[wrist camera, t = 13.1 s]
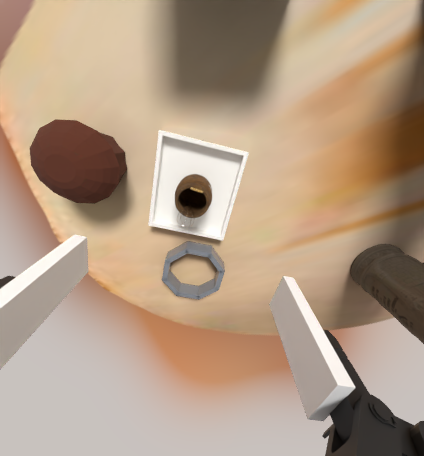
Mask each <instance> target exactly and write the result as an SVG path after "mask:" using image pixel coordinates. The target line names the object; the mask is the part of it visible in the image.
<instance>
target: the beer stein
mask: <svg viewBox="0 0 424 456" xmlns="http://www.w3.org/2000/svg"><path fill="white" fill-rule="evenodd" d="M351 276H352V278H353V279H354V281H355V282H356V283H358V284H359V285H361V286H362V288H363V289H364V290H365V291H366V292H368V293H369V294H370V295H371V296H373V297H374V298H375V299H376V300H377V301H378V302H379V303H380V304H381V305H382V306H383V307H384V308H385V309H386V310H388V311H389V312H390V313H391V314H392V315H393V316H394V317H395V318H396V319H397V320H398V321H399V322H400V323H401V324H402V325H403V326H404V327H405V328H407V329H408V330H409V331H410V332H411V333H412V334H413V335H414V336H416V337H417V338H418V339H419V340H420V341H421V342H422V343H423V344H424V263H421V262H420V261H418V260H417V259H415V258H413V257H411V256H409V255H407V254H404V253H403V252H402V251H401V250H400V249H399V248H397V247H395V246H392V245H387V244H383V245H377V246H374V247H371V248H369V249H367V250H366V251H364V252H363V253H361V254H360V255H359V256H358V257H357V258H356V259H355V261H354V262H353V264H352V267H351Z"/></svg>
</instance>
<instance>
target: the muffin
mask: <svg viewBox="0 0 424 456" xmlns="http://www.w3.org/2000/svg"><path fill="white" fill-rule="evenodd" d="M30 155H31V166H32V168H33V169H34V171H35V173H36V175H37V176H38V178H39V180H40V181H41V182H43V183H44V184H45V185H46V186H47V187H48V188H50V189H51V190H52V191H53V192H54V193H56V194H58V195H60V196H62V197H65V198H67V199H69V200H72V201H74V202H76V203H96V202H99V201H101V200H103V199H105V198H108V197H109V196H110V195H111V194H112V192H113V191H114V189H115V188H116V186H117V185H118V183H119V182H120V180H121V178H122V176H123V174H124V173H125V171H126V170H127V166H126V162H125V152H124V151H123V150H122V149H121V148H120V147H119V145H118V144H117V143H116V141H115V140H114V138H113V137H111V136H108V135H105V134H102V133H99V132H98V131H96V130H94V129H92V128H90V127H88V126H86V125H84V124H82V123H80V122H78V121H75V120H54V121H52V122H50V123H49V124H47V125H45V126H43V127H41V128H39V130H38V132H37V134H36V137H35V139H34V141H33V143H32V145H31V147H30Z"/></svg>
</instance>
